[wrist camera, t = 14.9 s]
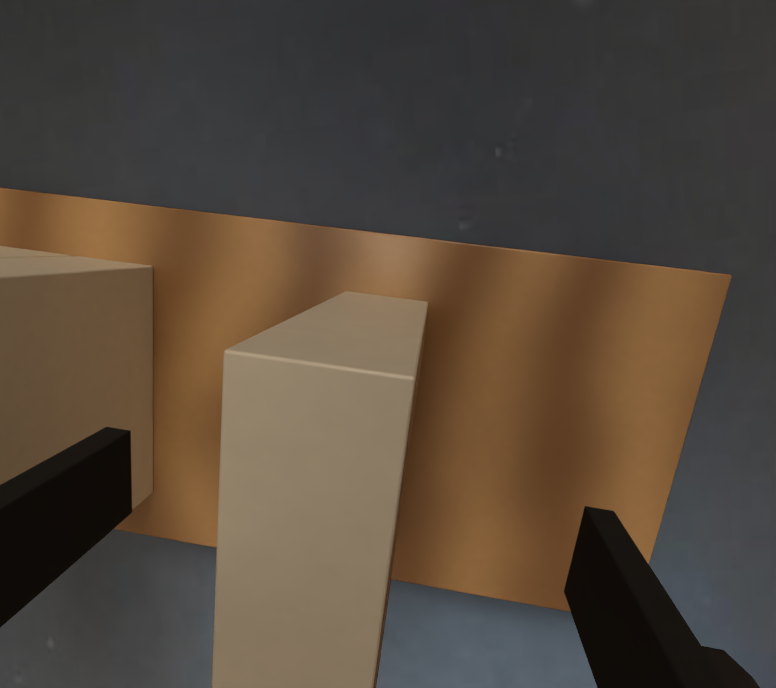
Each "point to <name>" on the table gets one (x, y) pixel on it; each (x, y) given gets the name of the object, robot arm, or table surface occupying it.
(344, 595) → the cream book
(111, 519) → the robot arm
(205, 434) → the shelf board
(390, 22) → the table surface
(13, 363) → the matching cream books
